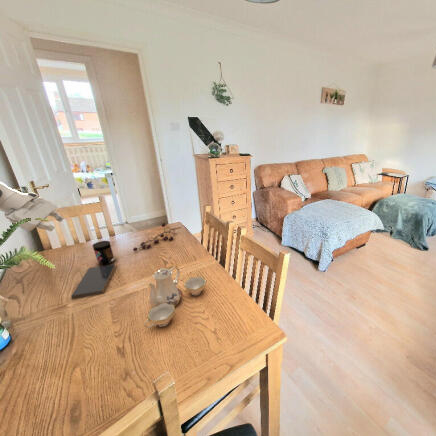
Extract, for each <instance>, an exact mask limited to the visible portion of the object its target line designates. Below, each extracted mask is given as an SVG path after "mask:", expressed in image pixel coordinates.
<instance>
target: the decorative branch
mask: <svg viewBox="0 0 436 436" xmlns="http://www.w3.org/2000/svg"><path fill="white" fill-rule="evenodd" d="M161 227H162V228H164V229H163V232H161V233H157V235H156V236H155V237H152V236H150V238H151V239H150V238H149V237H148V238H147V239H148V240H145V241H142V242H140V247H133V248H132V251H134V252H137V251H138V250H141V249H142V250H144V249H145V248H146V249H150V248H151V247H152V243H153V244H159V242H160V239H159V237H160V238H162V240H163V241H167V240H168V241H170V242H171V241H173V240H174V237H175V236H176V230H179V229H182V226H180V227H173V228H170V227H169V226H167V224H166V223H165V222H162V223H161ZM165 227H167V228H168V229H169V230H167V231H166V230H165ZM172 231H173V232H172ZM168 234H169V235H170V234H171V235H172V234H173V236H170V237H168ZM165 235H166V236H165Z"/></svg>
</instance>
